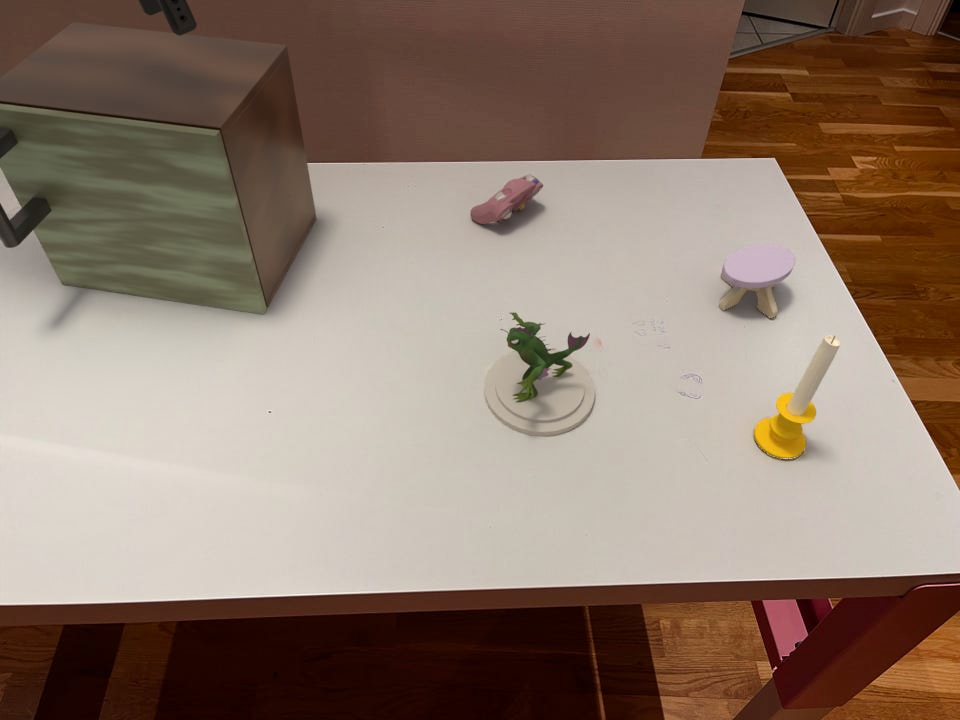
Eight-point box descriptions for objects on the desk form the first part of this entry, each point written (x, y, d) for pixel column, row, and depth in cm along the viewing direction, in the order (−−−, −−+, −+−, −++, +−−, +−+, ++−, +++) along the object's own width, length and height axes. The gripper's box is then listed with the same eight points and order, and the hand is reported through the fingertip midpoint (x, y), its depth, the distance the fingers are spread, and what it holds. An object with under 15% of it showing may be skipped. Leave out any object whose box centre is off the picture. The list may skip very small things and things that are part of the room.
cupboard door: (241, 355, 83) (183, 175, 66) (29, 322, 86) (-80, 141, 69) (267, 308, 89) (219, 130, 71) (66, 279, 91) (-27, 100, 74)
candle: (784, 414, 80) (839, 310, 68) (815, 452, 76) (878, 349, 65) (743, 427, 78) (792, 323, 67) (772, 466, 75) (829, 363, 64)
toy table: (731, 330, 88) (744, 294, 84) (692, 281, 94) (704, 246, 90) (800, 312, 90) (817, 277, 86) (759, 266, 96) (773, 231, 92)
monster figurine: (480, 354, 85) (482, 287, 77) (583, 350, 85) (596, 283, 78) (488, 439, 77) (492, 373, 69) (603, 433, 77) (618, 368, 70)
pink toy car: (486, 241, 101) (506, 213, 95) (465, 216, 101) (483, 186, 95) (533, 209, 106) (554, 181, 100) (512, 186, 106) (532, 156, 100)
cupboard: (268, 308, 89) (220, 127, 71) (68, 278, 92) (-26, 97, 74) (317, 219, 101) (287, 45, 83) (138, 195, 104) (73, 21, 86)
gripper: (11, -172, 62) (113, 20, 74) (48, -162, 54) (158, 56, 65) (95, -199, 65) (181, -8, 76) (144, -193, 56) (234, 22, 67)
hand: (171, 21), depth 71 cm, fingers open, 8 cm apart
